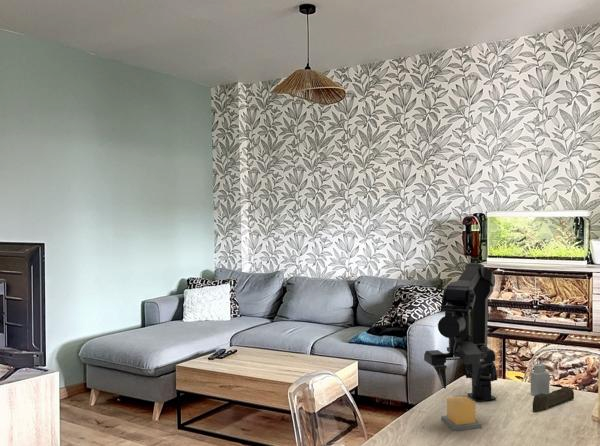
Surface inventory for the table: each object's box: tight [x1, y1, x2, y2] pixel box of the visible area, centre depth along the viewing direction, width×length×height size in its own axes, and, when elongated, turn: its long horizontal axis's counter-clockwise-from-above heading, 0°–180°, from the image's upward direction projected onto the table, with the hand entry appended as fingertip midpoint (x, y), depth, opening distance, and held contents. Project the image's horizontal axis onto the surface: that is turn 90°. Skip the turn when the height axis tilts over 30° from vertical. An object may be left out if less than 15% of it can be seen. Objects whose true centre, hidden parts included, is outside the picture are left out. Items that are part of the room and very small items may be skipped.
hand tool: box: [532, 385, 575, 412], centre depth 167 cm, size 19×4×5 cm, turn 123°
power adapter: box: [530, 356, 550, 397], centre depth 176 cm, size 3×5×12 cm, turn 111°
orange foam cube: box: [446, 395, 476, 425], centre depth 154 cm, size 6×6×6 cm
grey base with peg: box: [440, 415, 482, 431], centre depth 154 cm, size 8×8×5 cm
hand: (460, 386), depth 154 cm, fingers open, 9 cm apart
